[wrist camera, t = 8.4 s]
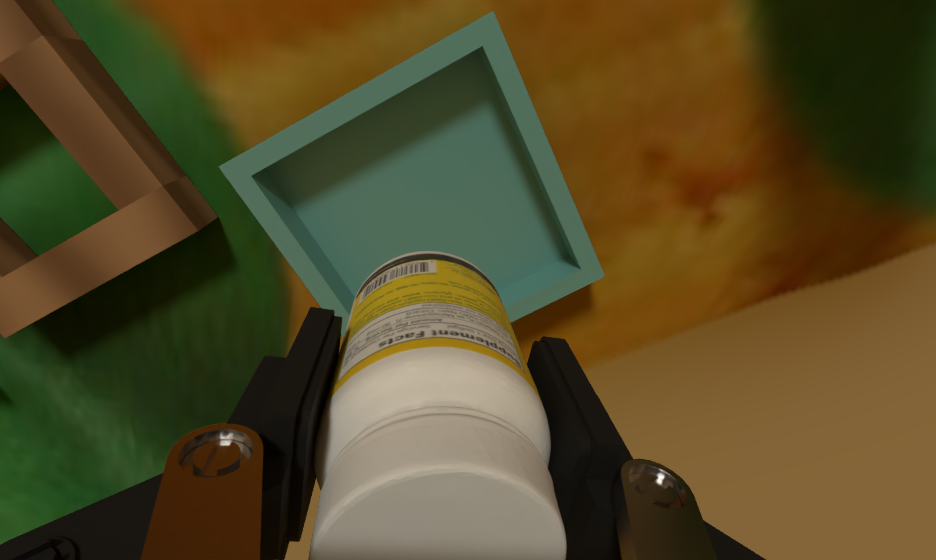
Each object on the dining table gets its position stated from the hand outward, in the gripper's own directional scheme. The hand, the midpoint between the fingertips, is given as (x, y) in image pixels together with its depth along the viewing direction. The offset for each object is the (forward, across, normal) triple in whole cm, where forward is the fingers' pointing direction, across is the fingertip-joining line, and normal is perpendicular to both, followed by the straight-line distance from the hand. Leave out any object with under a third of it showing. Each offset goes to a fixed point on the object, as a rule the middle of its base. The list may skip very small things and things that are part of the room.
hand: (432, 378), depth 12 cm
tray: (+16, 0, 0) cm, 16 cm away
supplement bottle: (+4, 0, 0) cm, 4 cm away
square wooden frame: (+16, +19, +1) cm, 25 cm away
